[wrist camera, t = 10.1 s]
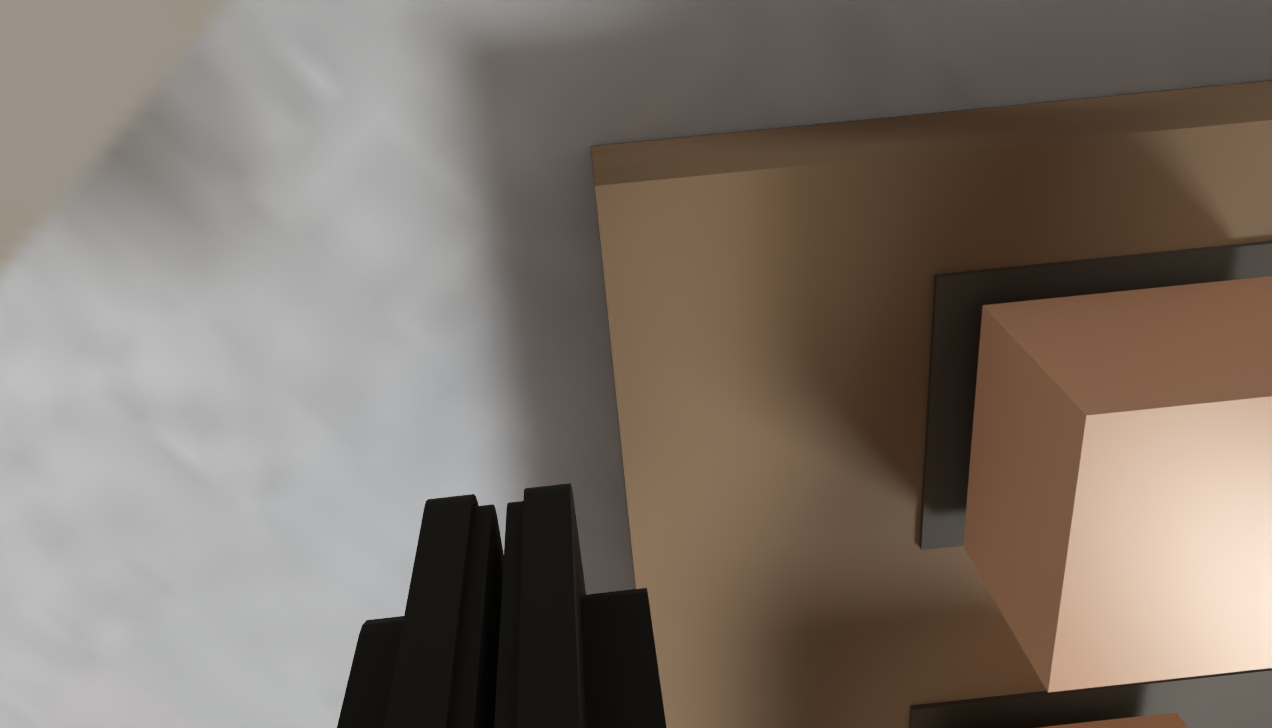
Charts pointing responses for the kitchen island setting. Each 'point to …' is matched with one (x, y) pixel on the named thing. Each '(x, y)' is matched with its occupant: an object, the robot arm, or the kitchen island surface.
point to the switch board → (883, 386)
